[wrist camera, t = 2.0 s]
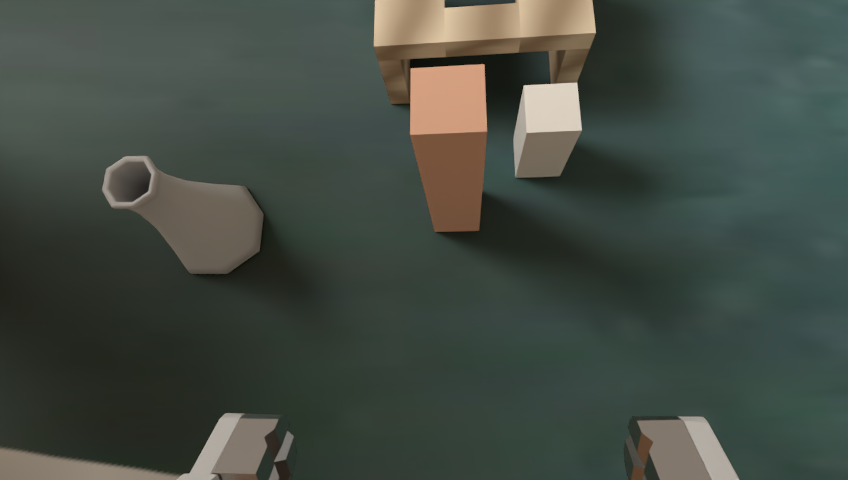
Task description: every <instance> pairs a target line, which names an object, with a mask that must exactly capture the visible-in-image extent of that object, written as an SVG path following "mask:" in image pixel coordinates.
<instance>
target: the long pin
mask: <svg viewBox="0 0 848 480" xmlns="http://www.w3.org/2000/svg"><path fill="white" fill-rule="evenodd" d="M410 136H411V140H412V144H413V148H414V152H415V156H416V160H417V164H418V168H419V172H420V175H421V179H422V183H423V187H424V191H425V195H426V199H427V203H428V207H429V211H430V215H431V219H432V223H433V227H434V231H435V232H453V231H479V226H480V213H481V201H482V189H483V176H484V164H485V152H486V139H487V116H486V90H485V65H484V64H478V65H460V66H443V67H425V68H411V95H410Z"/></svg>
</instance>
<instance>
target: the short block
mask: <svg viewBox="0 0 848 480" xmlns="http://www.w3.org/2000/svg"><path fill="white" fill-rule="evenodd" d="M581 131H582V127H581V117H580V106H579V96H578V86H577V83H560V84H541V85H524V86H523V91H522V97H521V102H520V107H519V112H518V117H517V122H516V127H515V132H514V138H513V142H514V160H515V178H526V177H553V176H560V175H561V173H562V171H563V168H564V166H565V164H566V162H567V160H568V158H569V156H570V154H571V152H572V150H573V148H574V146H575V144H576V141H577V139H578V137H579V135H580V133H581Z"/></svg>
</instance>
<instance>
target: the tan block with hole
mask: <svg viewBox="0 0 848 480" xmlns="http://www.w3.org/2000/svg"><path fill="white" fill-rule="evenodd" d="M595 34H596V28H595V19H594V11H593V2H592V0H515V3H510V4H496V5H481V6H466V7H451V8H445V0H375V25H374V49H375V52H376V55H377V59H378V62H379V66H380V69H381V72H382V76H383V79H384V82H385V86H386V89H387V92H388V96H389V99H390V103H391V104H405V103H410V59H419V58H436V57H453V56H470V55H487V54H504V53H521V52H539V51H548V53H549V65H550V77H551V84H560V83H577V81H578V78H579V76H580V73H581V70H582V68H583V65H584V63H585V60H586V57H587V55H588V52H589V50H590V47H591V44H592V42H593V39H594V37H595Z"/></svg>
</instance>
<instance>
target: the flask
mask: <svg viewBox="0 0 848 480" xmlns="http://www.w3.org/2000/svg"><path fill="white" fill-rule="evenodd" d="M102 191H103V193H104V195H105V197H106V198H107V200H108V202H109V204H110V206H111V207H112V208H114V209H130V210H132V211H134V212H136V213H138V214H140V215H141V216H142V217H144V218H145V219H146V220H147V221H149V222H150V223H151V224H152V225H153V226H155V227H156V228H157V230H158V231H159V232H160V233H161V235H162V236H163V237H164V239H165V240H166V241H167V242H168V244H169V245H170V246H171V248H172V249H173V250H174V252H175V253H176V255H177V256H178V257H179V259H180V260H181V262H182V263H183V265H184V266H185V268H186V269H187V270H188V271H189V273H190V274H228V273H229V272H231V271H232V270H233V269H235V268H236V267H238V266H239V265H241V264H242V263H243V262H245V261H246V260H248V259H249V258H250V257H252V256H253V255H255V254H256V253H258V252H259V251H260V243H261V234H262V225H263V216H264V214H263V212H262V211H261V209H260V208H259V206H258V205H257V203H256V202H255V200H254V199H253V197H252V196H251V194H250V193H249V191H248V190H247V188H246V187H245V186H238V185H223V184H210V183H202V182H193V181H185V180H182V179H179V178H176V177H173V176H170V175H167V174H165V173H163V172H161V171H160V170H158V169H156V167H155V165H154V164H153V162H152V160H151V159H150V158H149V157H148V156H125V157H124V158H122V159H121V160H119V161H118V162H116V163H115V164H113V165H112V166H110V167H109V168H107V169H106V173H105V178H104V183H103V188H102Z"/></svg>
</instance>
